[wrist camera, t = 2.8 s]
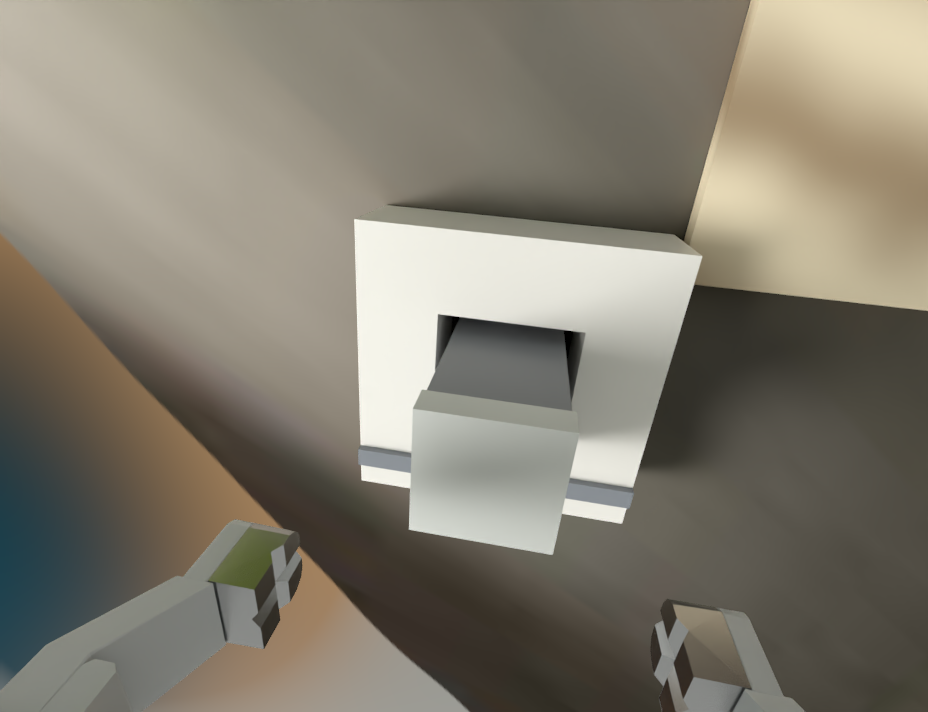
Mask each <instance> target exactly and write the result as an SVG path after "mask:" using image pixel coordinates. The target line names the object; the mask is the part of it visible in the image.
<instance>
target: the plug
mask: <svg viewBox="0 0 928 712" xmlns="http://www.w3.org/2000/svg"><path fill="white" fill-rule="evenodd" d="M579 434H580V433H579V424H578V416H577V412H575V411H572V405H571V395H570V386H569V376H568V367H567V357H566V347H565V338H564V330H560V329H552V328H544V327H536V326H528V325H520V324H512V323H504V322H496V321H488V320H480V319H473V318H465V317H460V318H459V321H458V323H457V325H456V327H455V329H454V331H453V334H452V336H451V338H450V340H449V342H448V345H447V347H446V349H445V351H444V353H443V356H442V358H441V360H440V362H439V364H438V367H437V369H436V371H435V373H434V375H433V377H432V380H431V382H430V384H429V386H428V388H427V390H421V392H420V395H419V397H418V399H417V401H416V403H415V405H414V407H413V417H412V449H411V482H410V514H409V530H415V531H420V532H426V533H432V534H437V535H443V536H448V537H454V538H460V539H465V540H471V541H477V542H482V543H488V544H494V545H499V546H505V547H511V548H516V549H522V550H528V551H533V552H539V553H545V554H550V555H553V551H554V546H555V542H556V537H557V533H558V528H559V524H560V519H561V515H562V510H563V506H564V501H565V497H566V492H567V488H568V483H569V479H570V474H571V470H572V465H573V461H574V456H575V452H576V447H577V443H578V438H579Z"/></svg>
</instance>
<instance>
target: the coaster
mask: <svg viewBox="0 0 928 712" xmlns="http://www.w3.org/2000/svg"><path fill="white" fill-rule="evenodd" d="M684 242H685V243H686V244H687V245H689V246H690V247H691V248H693V249H694V250H695V251H696V252H698V253H699V254H700V255H702V260H701V263H700V266H699V270H698V273H697V276H696V280H695V283H694V285H703V286H712V287H721V288H730V289H739V290H747V291H756V292H765V293H774V294H783V295H792V296H801V297H810V298H818V299H827V300H836V301H845V302H854V303H863V304H872V305H881V306H889V307H898V308H907V309H916V310H925V311H928V0H751V2H750V6H749V9H748V13H747V16H746V20H745V24H744V27H743V31H742V34H741V38H740V41H739V45H738V49H737V52H736V56H735V59H734V63H733V66H732V70H731V74H730V77H729V81H728V84H727V88H726V91H725V95H724V99H723V102H722V106H721V109H720V113H719V116H718V120H717V124H716V127H715V131H714V134H713V138H712V142H711V145H710V149H709V152H708V156H707V159H706V163H705V167H704V170H703V174H702V177H701V181H700V184H699V188H698V192H697V195H696V199H695V202H694V206H693V209H692V213H691V217H690V220H689V224H688V227H687V231H686V234H685V238H684Z"/></svg>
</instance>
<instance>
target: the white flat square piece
mask: <svg viewBox="0 0 928 712" xmlns="http://www.w3.org/2000/svg"><path fill="white" fill-rule="evenodd" d="M354 222H355V258H356V294H357V329H358V365H359V400H360V436H361V445H360V447H359V449H358V458H359V465H361V472H362V480H364V481H370V482H376V483H382V484H388V485H394V486H400V487H406V488H410V482H411V449H412V417H413V407H414V405H415V403H416V401H417V399H418V397H419V395H420V392H421V390H427V388H428V386H429V384H430V382H431V380H432V377H433V375H434V373H435V371H436V369H437V367H438V364H439V362H440V360H441V358H442V356H443V353H444V351H445V349H446V347H447V345H448V342H449V340H450V338H451V331H452V316H457V317H465V318H473V319H480V320H488V321H496V322H504V323H512V324H520V325H528V326H536V327H544V328H552V329H560V330H568V331H573V334H572V339H571V345H570V350H569V355H568V360H567V367H568V376H569V386H570V395H571V405H572V411H575V412H577V416H578V424H579V433H580V434H579V438H578V443H577V447H576V452H575V456H574V461H573V465H572V470H571V474H570V479H569V483H568V488H567V492H566V497H565V501H564V506H563V510H562V514H567V515H573V516H579V517H585V518H591V519H597V520H603V521H609V522H615V523H621V524H622V522H623V518H624V515H625V512H626V508H627V509H629V508H630V504H631V501H632V498H633V495H634V492H633V485H634V482H635V478H636V475H637V472H638V469H639V465H640V462H641V459H642V455H643V452H644V449H645V445H646V442H647V439H648V435H649V432H650V429H651V425H652V422H653V419H654V415H655V412H656V409H657V406H658V402H659V399H660V396H661V392H662V389H663V386H664V382H665V379H666V376H667V372H668V369H669V366H670V362H671V359H672V356H673V352H674V349H675V346H676V343H677V339H678V336H679V333H680V329H681V326H682V323H683V319H684V316H685V313H686V309H687V306H688V303H689V299H690V296H691V293H692V289H693V286H694V283H695V280H696V276H697V273H698V270H699V266H700V263H701V260H702V255H700V254H699V253H698V252H696V251H695V250H694V249H693V248H691V247H690V246H689V245H687V244H686V243H685V242H683V241H682V240H681V239H679V238H678V237H677V236H675V235H674V234H664V233H655V232H645V231H635V230H625V229H616V228H606V227H596V226H586V225H576V224H567V223H557V222H547V221H537V220H528V219H518V218H508V217H498V216H488V215H479V214H469V213H459V212H449V211H439V210H430V209H420V208H410V207H400V206H391V205H385V206H383V207H380V208H378V209H376V210H374V211H371V212H369V213H367V214H365V215H363V216H360V217H358V218H356V219H354Z"/></svg>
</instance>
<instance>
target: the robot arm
mask: <svg viewBox="0 0 928 712" xmlns="http://www.w3.org/2000/svg"><path fill="white" fill-rule="evenodd" d="M299 545H300V538H299V533H297V532H294V531H289V530H285V529H280V528H275V527H271V526H266V525H261V524H256V523H251V522H245V521H240V520H236V519H235V520H233V521H232V522H230V523H228V524H227V525H226V526H225V528H224V529H223V530H222V531H221V532H220V533H219V535H218V536H217V537H216V538H215V540H214V541H213V542H212V543H211V544H210V546H209V547H208V548H207V549H206V550H205V551H204V553H203V554H202V555H201V556H200V557H199V559H198V560H197V561H196V562H195V563H194V564H193V566H192V567H191V568H190V569H189V570H188V572H187V573H186V574H185V575H184V576H183V577H180V576H176V577H174V578H172V579H170V580H168V581H166V582H164V583H162V584H161V585H159V586H157V587H155V588H153V589H151V590H150V591H147V592H146V593H144V594H142V595H140V596H138V597H136V598H134V599H132V600H130V601H128V602H126V603H125V604H123V605H121V606H119V607H117V608H115V609H113V610H111V611H109V612H107V613H106V614H104V615H102V616H100V617H98V618H96V619H94V620H92V621H91V622H89V623H87V624H85V625H83V626H81V627H79V628H77V629H75V630H73V631H72V632H70V633H68V634H66V635H64V636H62V637H60V638H58V639H56V640H55V641H53V642H51V643H49V644H47V645H46V646H45V647H44V648H43V649H42V650H41V651H40V652H39V653H38V654H37V655H36V656H35V657H34V658H33V659H32V660H31V661H30V662H29V663H28V664H27V665H26V666H25V667H24V668H23V669H22V670H21V671H20V672H19V673H18V674H17V675H16V676H15V677H14V678H13V679H12V680H11V681H10V682H9V683H8V684H7V685H6V686H5V687H4V688H3V689H2V690H1V691H0V712H142V711H143V710H144V709H145V708H147V707H148V706H149V705H150V704H152V703H153V702H154V701H155V700H157V699H158V698H159V697H161V696H162V695H163V694H164V693H165V692H167V691H168V690H169V689H171V688H172V687H173V686H174V685H176V684H177V683H178V682H180V681H181V680H182V679H183V678H185V677H186V676H187V675H188V674H190V673H191V672H192V671H193V670H195V669H196V668H197V667H198V666H199V665H201V664H202V663H203V662H205V661H206V660H207V659H209V658H210V657H211V656H212V655H214V654H215V653H216V652H217V651H219V650H220V649H221V648H222V647H224V646H225V645H226V642H228V643H234V644H240V645H245V646H250V647H256V648H262V649H264V648H265V646H266V644H267V643H268V641H269V639H270V637H271V635H272V633H273V632H274V630H275V628H276V626H277V625H278V623H279V621H280V615H279V609H280V608H281V607H283V606H284V605H286V604H287V603H289V602H290V601H291V599H292V597H293V596H294V594H295V592H296V590H297V587H298V584H299V581H300V578H301V571H302V558H301V557H300V555H299V554H298V553H297V552H296V550H297V548H298V547H299ZM660 611H661V615H662V619H663V621H661V622H659V623H657V624H656V625H655V627H654V630H653V633H652V636H651V649H650V650H651V661H652V666H653V671H654V675H655V676H656V677H657V679H658V680H659V681H660V682H661V684H662V685H663V686H664V687H663V689H662V692H661V694H660V696H659V700H660V704H661V709H662V712H805V711H804V710H803V709H802V708H801V707H800V706H799V705H798V704H797V703H796V702H795V701H794V700H793V699H792V698H788V697H784V696H783V694H782V691H781V689H780V687H779V685H778V683H777V680H776V678H775V676H774V674H773V671H772V669H771V667H770V665H769V662H768V660H767V658H766V656H765V653H764V651H763V649H762V647H761V644H760V642H759V640H758V638H757V635H756V633H755V631H754V629H753V627H752V624H751V622H750V620H749V618H748V617H747V616H746V614H745V613H743V612H738V611H732V610H727V609H721V608H715V607H712V606H706V605H700V604H694V603H688V602H682V601H677V600H671V599H667V600H666V601H665V602H664V603H663V605H662V608H661V610H660Z"/></svg>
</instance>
